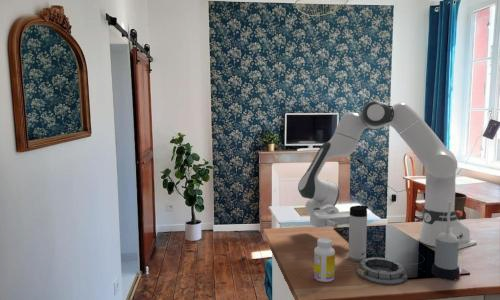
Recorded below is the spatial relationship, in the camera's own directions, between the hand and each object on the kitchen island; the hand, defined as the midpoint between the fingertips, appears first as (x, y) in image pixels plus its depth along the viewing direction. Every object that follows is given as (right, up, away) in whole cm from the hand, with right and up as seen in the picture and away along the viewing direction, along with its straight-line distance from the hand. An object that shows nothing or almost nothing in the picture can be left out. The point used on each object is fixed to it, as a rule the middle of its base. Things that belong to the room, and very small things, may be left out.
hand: (346, 224), depth 144 cm
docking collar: (+7, -13, -19) cm, 24 cm away
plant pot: (+56, -8, +32) cm, 65 cm away
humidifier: (+28, -13, -20) cm, 37 cm away
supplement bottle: (-13, -14, -22) cm, 29 cm away
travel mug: (+3, -12, -6) cm, 13 cm away
